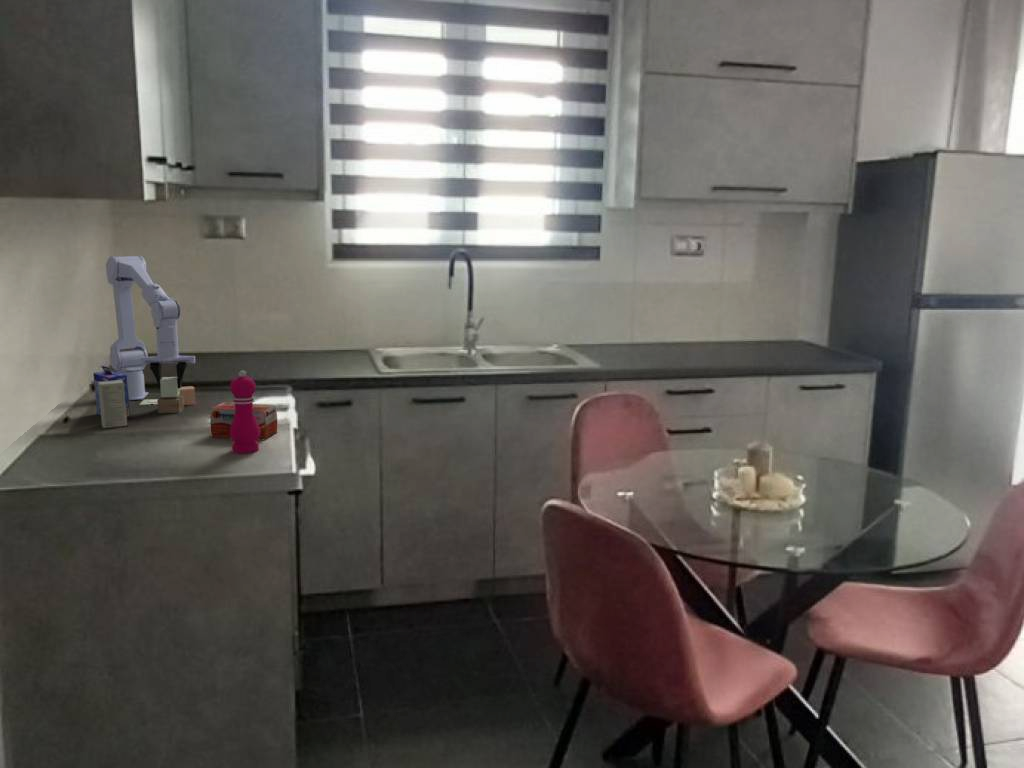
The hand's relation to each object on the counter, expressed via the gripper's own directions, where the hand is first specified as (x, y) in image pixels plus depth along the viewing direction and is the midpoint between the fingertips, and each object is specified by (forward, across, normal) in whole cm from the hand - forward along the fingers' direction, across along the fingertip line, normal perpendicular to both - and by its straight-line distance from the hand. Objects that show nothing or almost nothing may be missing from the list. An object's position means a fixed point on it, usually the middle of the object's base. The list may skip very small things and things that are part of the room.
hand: (170, 387), depth 253 cm
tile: (+7, -7, +12) cm, 15 cm away
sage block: (+2, 0, 0) cm, 2 cm away
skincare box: (+7, -12, -17) cm, 22 cm away
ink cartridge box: (+7, -15, -4) cm, 17 cm away
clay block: (+7, +3, +9) cm, 12 cm away
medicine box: (+7, +23, -32) cm, 41 cm away
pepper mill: (+7, +25, -48) cm, 55 cm away
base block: (+7, 0, 0) cm, 7 cm away
